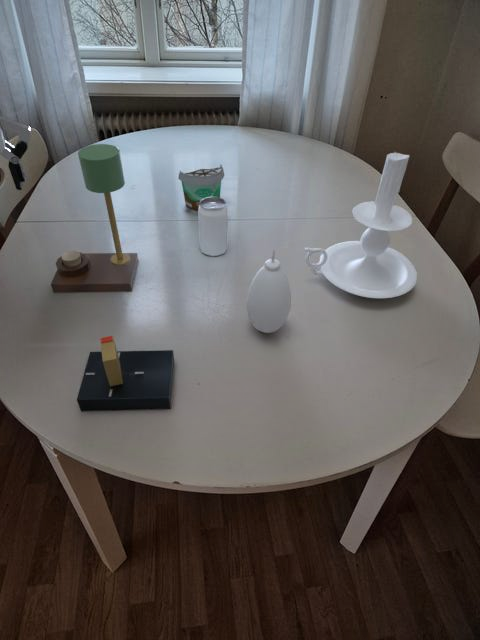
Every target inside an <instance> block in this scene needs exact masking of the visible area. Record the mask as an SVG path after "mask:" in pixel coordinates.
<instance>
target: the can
mask: <svg viewBox="0 0 480 640" xmlns="http://www.w3.org/2000/svg"><path fill="white" fill-rule="evenodd" d="M197 215H198V216H197V218H198V236H199V237H198V238H199V250H200V252H201V253H202V254H204V255H205V256H208V257H219V256H222V255H223V254H225V253H226V252H227V250H228V207H227V205H226V201H225V200H224V198H221V197H220V198H219V197H207V198H204V199H202V200H201V201H200V206H199V208H198V211H197Z"/></svg>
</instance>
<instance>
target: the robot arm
mask: <svg viewBox="0 0 480 640" xmlns="http://www.w3.org/2000/svg"><path fill="white" fill-rule="evenodd" d="M6 131H7V132H11V133H13V134H16V135H18V137H19V139H18V142H17V143H16V144H15V145H12V144H11V143H10V142H9V141H7V136H6V135H7V134H6ZM31 133H32V128H31V127H30V126H29V125H26V124H23V123H21V122H18V121H16V120H12V119H10V118H7V117H4V116H2V115H0V156H2V157H3V158H4V159H6V160H8V166H7V167H8V169H9V172H10V175H11V179H12V181H13V183H14V187H15V189H16V190H18V191H23V186H24V183H26V181H27V179H26V174H25V171H24V168H23V165H22V162H21V159H22V158H23V156H24V155H25V154H26V152H27V150H28V147H29V144H30V143H29V142H30V138H31Z"/></svg>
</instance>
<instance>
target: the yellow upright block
mask: <svg viewBox="0 0 480 640" xmlns="http://www.w3.org/2000/svg"><path fill="white" fill-rule="evenodd" d="M99 340H100V352H102V360H103V364H104V368H105V371H106V375H107V378H108V381H109V385H110V387H111V386H115V385H120V384H123V381H122V374H121V367H120V361H119V357H118V353H117V351H118V349H117V347H116V346H117V345H116V342H115V337H114V336H113V335H107V336H104V337H101V338H100V339H99Z"/></svg>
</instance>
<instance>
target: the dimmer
mask: <svg viewBox="0 0 480 640" xmlns="http://www.w3.org/2000/svg"><path fill="white" fill-rule="evenodd" d="M117 353H118V357H119V361H120V367H121V374H122V381H123V384H120V385H115V386H111V387H110V385H109V381H108V378H107V375H106V371H105V368H104V364H103V360H102V351H89V355H88V358H87V361H86V365H85V369H84V372H83V376H82V379H81V383H80V386H79V390H78V393H77V396H76V402H77V405H78V407H79V409H80V412H105V411H107V412H108V411H109V412H110V411H141V410H142V411H144V410H145V411H147V410H171V407H172V396H173V385H174V384H173V383H174V373H175V372H174V371H175V354H174V350H173V349H168V350H163V349H162V350H159V349H158V350H119V351H118V350H117Z"/></svg>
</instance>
